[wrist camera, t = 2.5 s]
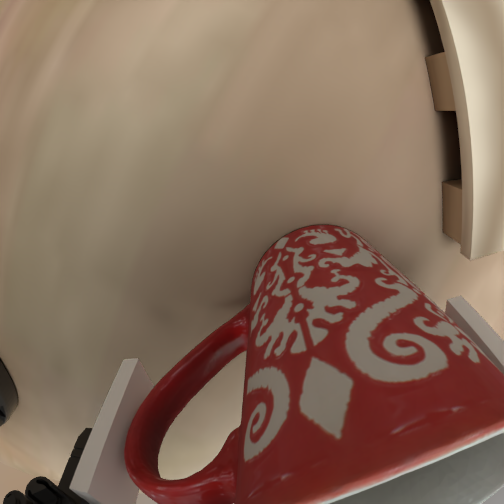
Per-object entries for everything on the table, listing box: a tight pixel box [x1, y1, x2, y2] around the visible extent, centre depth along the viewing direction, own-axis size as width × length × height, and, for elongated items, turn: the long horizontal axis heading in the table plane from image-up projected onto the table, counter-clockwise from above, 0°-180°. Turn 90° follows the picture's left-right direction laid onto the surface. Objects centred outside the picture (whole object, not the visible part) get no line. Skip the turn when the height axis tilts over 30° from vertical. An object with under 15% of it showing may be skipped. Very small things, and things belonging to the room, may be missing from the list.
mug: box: [124, 225, 504, 504], centre depth 11 cm, size 13×9×14 cm
